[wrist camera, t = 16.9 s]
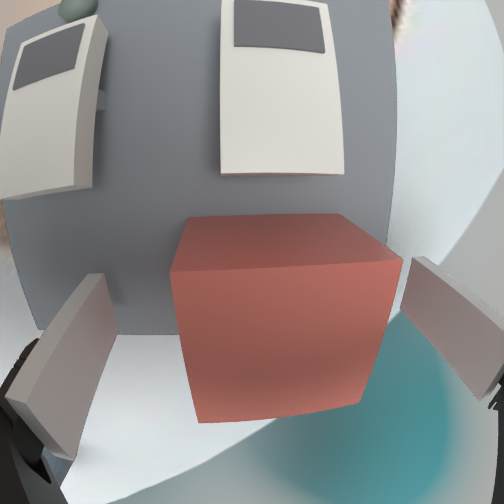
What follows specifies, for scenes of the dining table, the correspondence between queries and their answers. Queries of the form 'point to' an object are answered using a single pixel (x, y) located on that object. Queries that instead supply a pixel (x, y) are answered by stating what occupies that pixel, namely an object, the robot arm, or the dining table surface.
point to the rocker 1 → (52, 111)
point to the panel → (186, 153)
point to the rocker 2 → (279, 90)
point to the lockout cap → (279, 312)
